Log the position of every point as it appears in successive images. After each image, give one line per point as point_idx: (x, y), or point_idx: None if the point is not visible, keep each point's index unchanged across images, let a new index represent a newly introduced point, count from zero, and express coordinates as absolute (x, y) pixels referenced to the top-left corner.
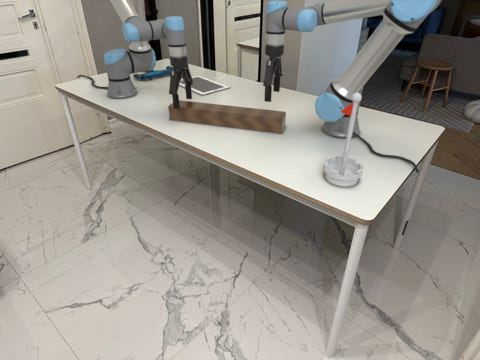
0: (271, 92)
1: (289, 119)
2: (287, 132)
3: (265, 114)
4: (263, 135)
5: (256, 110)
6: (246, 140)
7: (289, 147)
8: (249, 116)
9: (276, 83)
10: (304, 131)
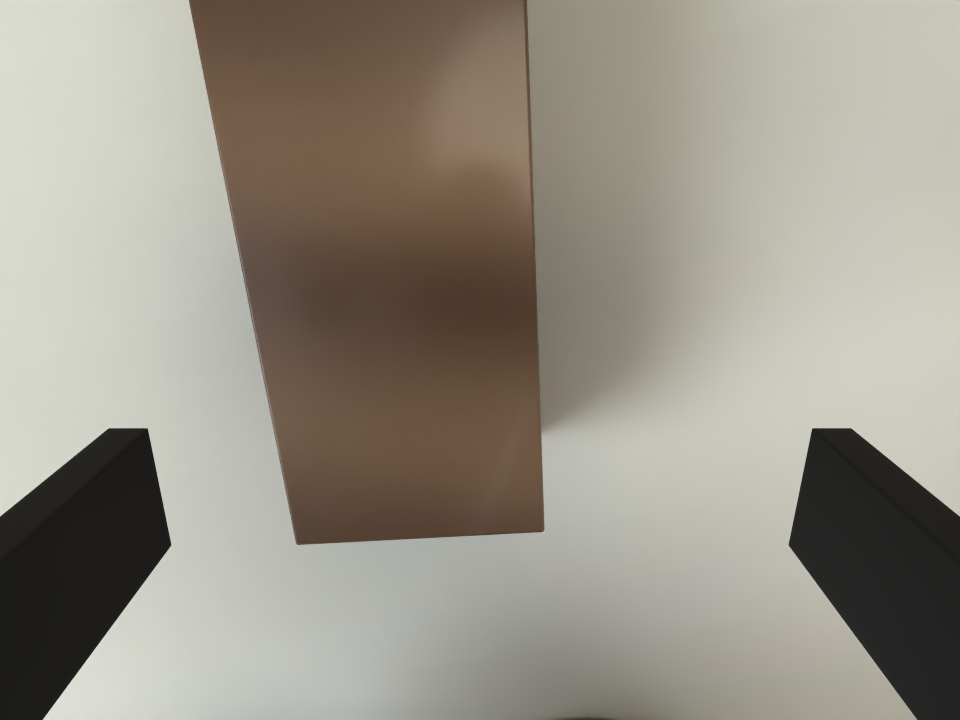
0: (42, 706)
1: (713, 441)
2: None
3: (343, 316)
4: (220, 299)
5: (442, 132)
6: (14, 163)
7: None
8: (214, 86)
9: (919, 623)
10: (470, 609)
